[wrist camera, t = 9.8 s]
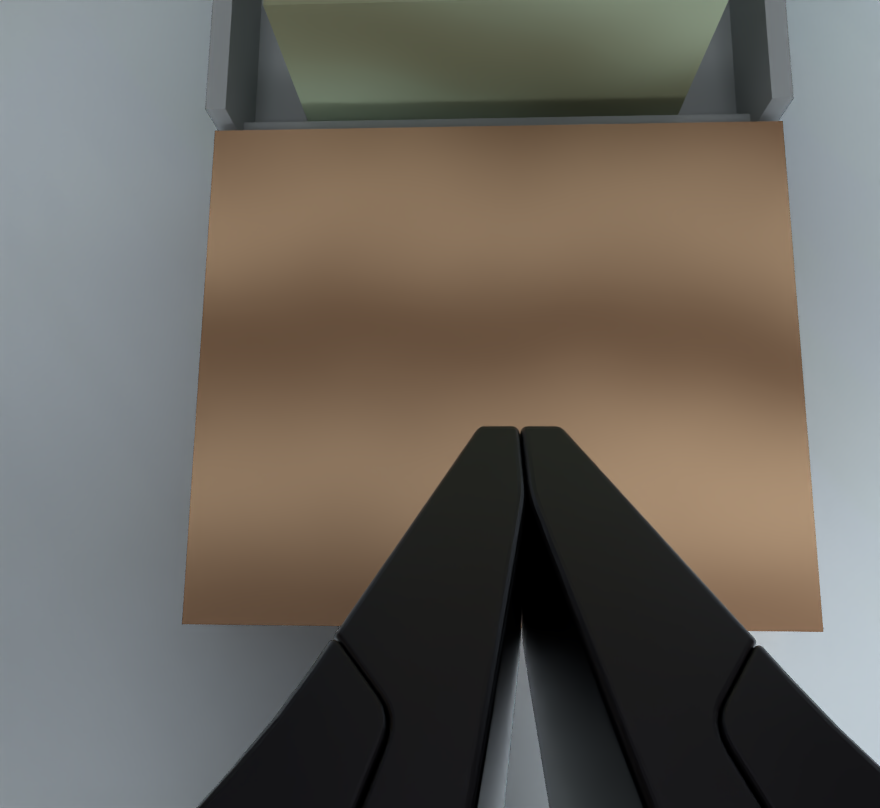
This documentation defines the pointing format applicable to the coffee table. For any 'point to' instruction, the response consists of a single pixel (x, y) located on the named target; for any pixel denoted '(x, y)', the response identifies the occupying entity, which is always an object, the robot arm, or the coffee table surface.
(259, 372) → the tan square tile
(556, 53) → the block
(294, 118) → the box
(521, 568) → the robot arm
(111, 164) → the coffee table surface
